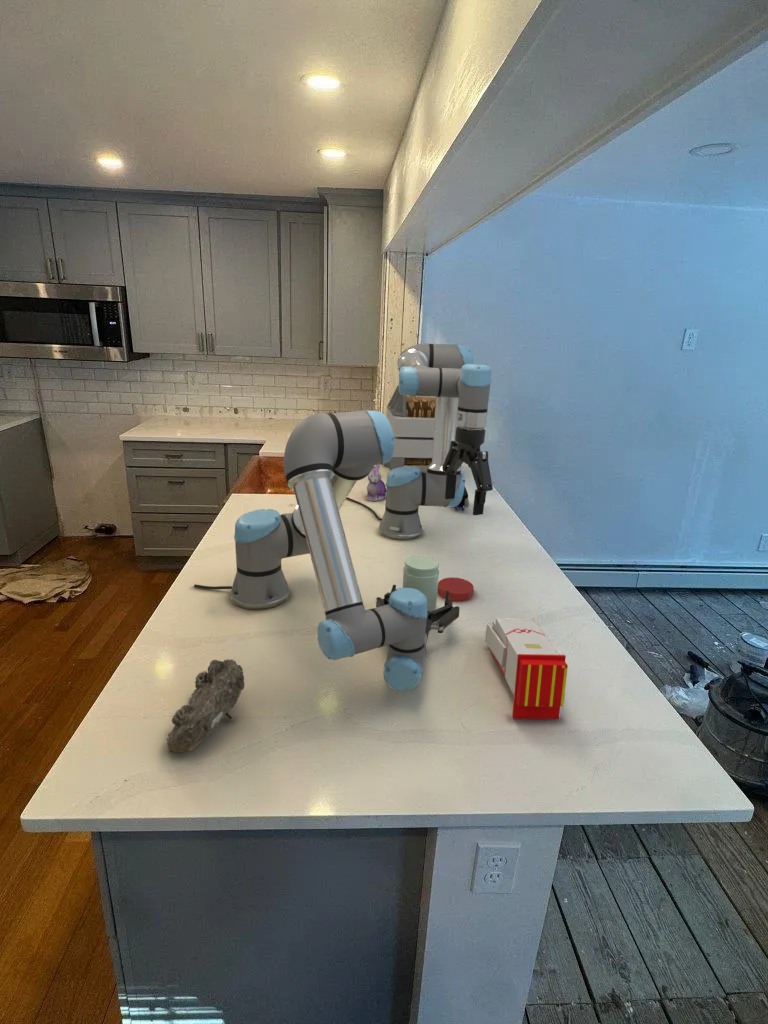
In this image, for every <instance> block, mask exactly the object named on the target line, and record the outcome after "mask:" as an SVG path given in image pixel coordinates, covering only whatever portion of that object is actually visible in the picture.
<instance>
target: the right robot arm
mask: <svg viewBox="0 0 768 1024" xmlns="http://www.w3.org/2000/svg"><path fill="white" fill-rule="evenodd" d="M396 363H397V369H398V385H399V393H400V394H401V395H407V396H415V397H417V396H418V397H436V405H435V422H434V438H433V454H432V463H431V464H430V465H428V466H426V472H424V471H422V469H421V468H420V467H419V466H407V465H404V467H398V468H395V469H392V470H391V471H390V470H389V471H388V473H387V475H386V482H385V486H386V496H385V504H384V505H385V507H384V508H385V509H384V513H383V515H382V517H379V516H378V514H377V513H376V511H375V510H373V509H372V508H371V507H369V506H368V505H366V504H364V503H362V502H360V501H358V500H355V499H353V498H350V497H348V496H347V498H346V500H347V501H348V500H349V501H351V502H354V503H356V504H358V505H360V506H362V507H364V508H365V509H368V510H369V511H370V512H372V513H373V514H374V516H375V518H377V520H379V521H381V522H379V525H378V533H379V534H380V535H381V536H382V537H385V538H387V539H389V540H395V541H410V540H415V539H418V538H420V537H421V536H422V535H423V525H422V524H421V518H420V515H419V507H444V508H449V507H451V508H455V506H457V505H459V504H460V502H461V500H462V497H463V493H464V488H465V487H466V475H465V474H464V473H463V472H462V465H463V463H464V464H465V465H467V467H468V468H469V469H470V471H471V474H472V477H473V480H474V484H475V487H476V489H475V490H474V496H473V497H474V499H473V507H472V515H473V516H481V515H482V516H483V515H484V511H485V509H484V508H485V504H486V499H487V492H490V491H493V490H494V487H493V482H492V475H491V469H490V463H489V451H488V450H486V451H485V450H484V451H482V449H481V446H482V445H483V444H484V443H485V441H486V440H485V439H486V438H485V437H486V429H485V428H486V427H487V422H488V411H489V410H488V409H489V401H490V400H489V399H490V390H491V384H492V368H491V367H490V366H489V365H488V364H487V365H485V364H480V363H479V364H478V363H474V359H473V354H472V350H471V348H470V347H469V346H467V345H463V344H456V343H455V344H449V343H448V344H447V343H446V344H445V343H427V342H426V343H425V342H424V343H418V344H415V345H411V346H408V347H406V348H405V349H404V350H403V351H402V352H401V353H400V354H399V356H398V358H397V362H396ZM460 466H461V468H460Z"/></svg>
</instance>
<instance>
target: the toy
mask: <svg viewBox="0 0 768 1024" xmlns="http://www.w3.org/2000/svg"><path fill="white" fill-rule="evenodd" d="M484 642H485V643H486V645H487V646H488V650H489V651H490V654H491V655H492V657H493V659H494V660H495V662H496V664H497V666H498V667H499V669H500V671H501V672H502V675H503V676H504V678H505V680H506V682H507V684H508V686H509V688H510V691H511V693H512V694H513V704H512V705H513V706H512V715H511V717H512V719H513V720H560V714H561V708H563V707H564V704H565V695H566V685H567V677H568V668H569V666H568V663H567V662H566V657H567V656H566V654H560V653H559V651H558V650H557V648H556V647H555V646H554V645H553V643H552V642H551V640H550V639H549V638H548V636H547V635H546V634H545V632H544V631H543V629H542V628H541V627H540V625H539V623H537V621H536V620H535V619H534V618H523V617H522V618H521V617H520V618H519V617H516V618H515V617H496V618H495V620H492V622H491V624H490V623H486V629H485V637H484Z"/></svg>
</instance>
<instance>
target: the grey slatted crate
mask: <svg viewBox="0 0 768 1024" xmlns="http://www.w3.org/2000/svg"><path fill="white" fill-rule="evenodd" d="M435 405H436V397H433V396H407V395H401V394H400V393H399V384H398V385H397V386H396V388H395V390H394V392H393V394H392V395H391V398H390V400H389V402H388V404H387V405H386V413H385V414H386V415H385V416H386V417H387V419H388V420H389V422H390V425H391V427H392V431H393V435H394V453H393V457H392V459H391V460H390V461H389V462H388V463H384V464H383V466H384V467H388V468H389V472H390V471H391V470H392V469H395V468H398V467H404V466H413V467H428V466H429V465H430V464H431V463H432V454H433V438H434V422H435ZM460 468H461V469H462V465H461V466H460Z"/></svg>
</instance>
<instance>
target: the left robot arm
mask: <svg viewBox="0 0 768 1024" xmlns="http://www.w3.org/2000/svg"><path fill="white" fill-rule="evenodd" d="M393 453H394V435H393V431H392V427H391V425H390V422H389V420H388V419H387V417H386V415H385V413H383V412H381V411H380V410H368V409H364V410H354V411H353V410H352V411H341V412H340V411H339V412H319V413H314V414H310V415H309V416H307V417H305V418H303V419H302V420H301V421H299V422H298V424H297V425H296V426H295V427H294V428H293V430H292V432H291V433H290V435H289V437H288V438H287V441H286V445H285V448H284V455H283V472H284V478H285V481H286V485H287V487H288V488H289V489H291V490H292V491H293V493H294V497H295V501H296V503H297V504H296V506H295V507H294V510H293V511H292V512H289V513H280V512H279V511H278V510H276V509H272V508H271V509H270V508H268V509H266V508H260V509H255V510H251V511H248V512H246V513H244V514H242V515H241V516H240V517H238V518H237V520H236V521H235V523H234V536H233V539H234V544H235V562H236V563H235V564H236V573H235V575H234V579H233V583H232V585H221V586H220V585H219V586H212V585H211V586H210V585H203V584H196V583H195V584H194V585H193V587H194V588H198V589H203V590H204V589H205V590H230V600H231V602H232V603H233V605H235V606H237V607H239V608H241V609H246V610H251V611H252V610H253V611H254V610H255V611H258V610H259V611H260V610H268V609H272V608H276V607H277V606H280V605H282V604H284V603H285V602H286V601H287V600H288V599H289V596H290V589H289V588H290V587H289V583H288V580H287V578H286V577H285V574H284V571H283V570H282V559H288V558H293V557H297V556H302V555H308V554H309V555H310V560H311V563H312V567H313V570H314V575H315V579H316V583H317V588H318V591H319V595H320V599H321V602H322V606H323V611H324V614H325V619H324V620H322V621H320V622H319V623H318V625H317V627H316V628H317V629H316V634H317V643H318V647H319V649H320V652H321V653H322V655H323V656H324V657H325V658H326V659H328V660H331V661H337V660H341V659H345V658H348V657H349V658H352V657H354V656H357V655H359V654H362V653H365V652H366V653H367V652H369V651H371V650H375V649H379V648H383V647H386V659H385V662H384V666H383V679H384V681H385V682H386V684H387V685H388V686H389V687H390V688H391V689H393V690H395V691H398V692H399V691H400V692H408V691H412V690H413V689H415V688H416V687H417V686H418V685H419V683H420V681H421V677H422V676H423V668H424V663H425V662H424V661H425V654H426V649H427V644H428V639H429V634H430V631H431V630H437V633H438V634H443V633H444V630H445V629H446V628H448V627H449V626H450V625H451V624H452V623H454V622H455V621H456V620H457V619H458V618H459V617H460V606H453V603H454V601H452V600H448V599H449V591H446V597H445V599H444V605H443V606H441V607H438V608H436V610H434V611H431V612H430V611H427V598H426V596H425V595H424V594H423V593H422V592H421V591H419V590H417V589H413V588H402V587H399V588H397V585H396V584H392V587H391V590H390V592H386V593H384V595H383V598H382V597H376V599H375V607H373V608H368V609H366V608H365V605H364V601H363V597H362V594H361V590H360V586H359V583H358V578H357V575H356V571H355V567H354V563H353V560H352V556H351V551H350V548H349V545H348V541H347V537H346V534H345V529H344V525H343V522H342V517H341V514H340V510H341V508H342V506H343V505H344V503H345V501H346V500H347V499H346V498H347V497H348V496H349V495H350V493H351V491H352V490H353V488H354V486H355V485H356V483H357V482H358V481H362V480H364V479H365V478H367V477H368V475H369V473H370V471H371V470H372V468H373V467H375V466H376V465H377V464H380V466H384V463H388V462H389V461H390V460H391V459H392V457H393Z"/></svg>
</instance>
